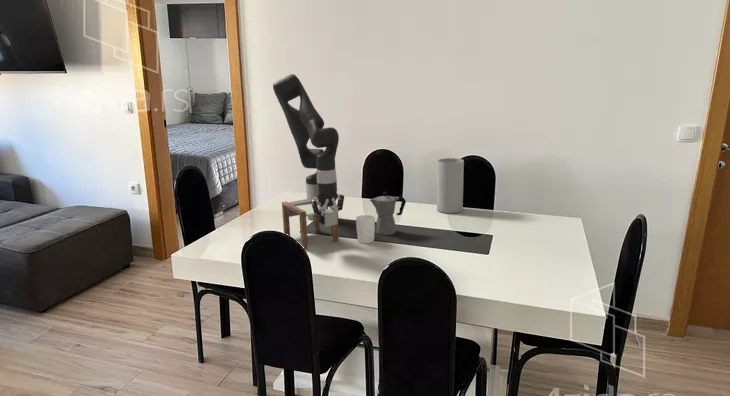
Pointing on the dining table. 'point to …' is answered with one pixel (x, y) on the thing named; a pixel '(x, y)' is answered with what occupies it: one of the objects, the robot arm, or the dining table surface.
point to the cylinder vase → (450, 185)
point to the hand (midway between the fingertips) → (328, 222)
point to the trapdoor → (302, 207)
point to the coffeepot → (386, 213)
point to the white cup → (365, 228)
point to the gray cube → (330, 217)
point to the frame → (304, 223)
